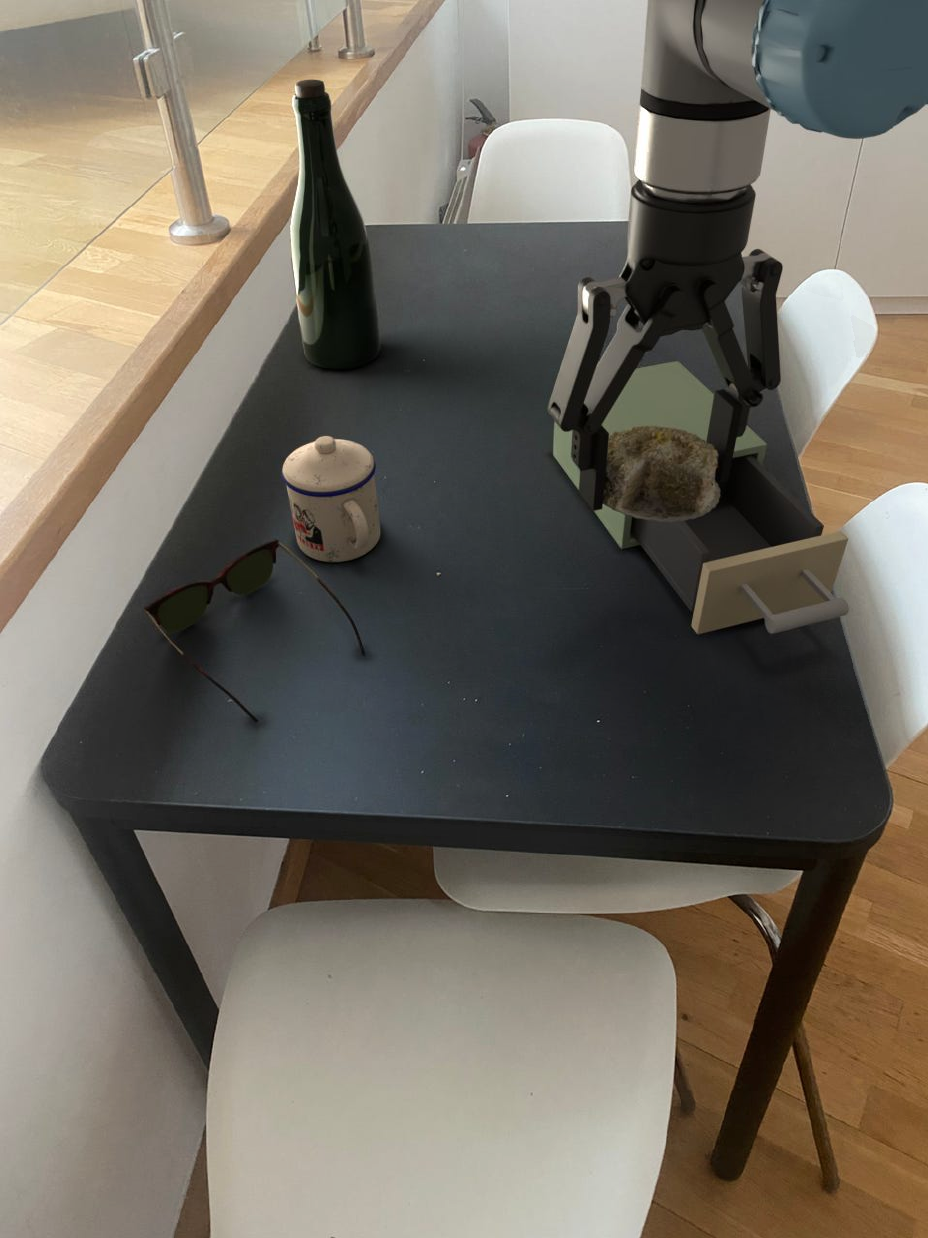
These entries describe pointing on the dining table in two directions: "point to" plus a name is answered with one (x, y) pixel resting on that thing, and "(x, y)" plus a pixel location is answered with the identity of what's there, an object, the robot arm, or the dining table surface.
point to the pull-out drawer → (749, 556)
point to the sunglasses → (238, 578)
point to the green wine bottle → (329, 245)
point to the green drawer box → (657, 402)
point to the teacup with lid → (333, 499)
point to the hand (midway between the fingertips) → (653, 486)
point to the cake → (660, 474)
